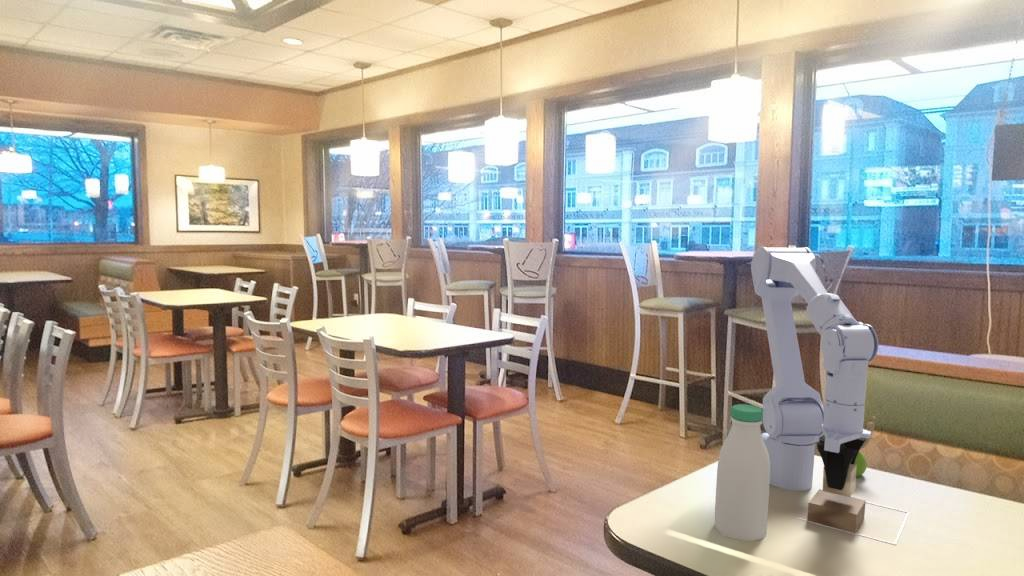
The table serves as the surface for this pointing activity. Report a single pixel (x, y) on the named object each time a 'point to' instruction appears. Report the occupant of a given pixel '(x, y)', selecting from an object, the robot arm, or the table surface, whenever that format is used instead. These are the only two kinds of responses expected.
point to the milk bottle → (743, 478)
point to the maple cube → (849, 484)
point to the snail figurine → (860, 457)
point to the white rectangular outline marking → (875, 538)
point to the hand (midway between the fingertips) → (838, 483)
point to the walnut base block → (836, 511)
